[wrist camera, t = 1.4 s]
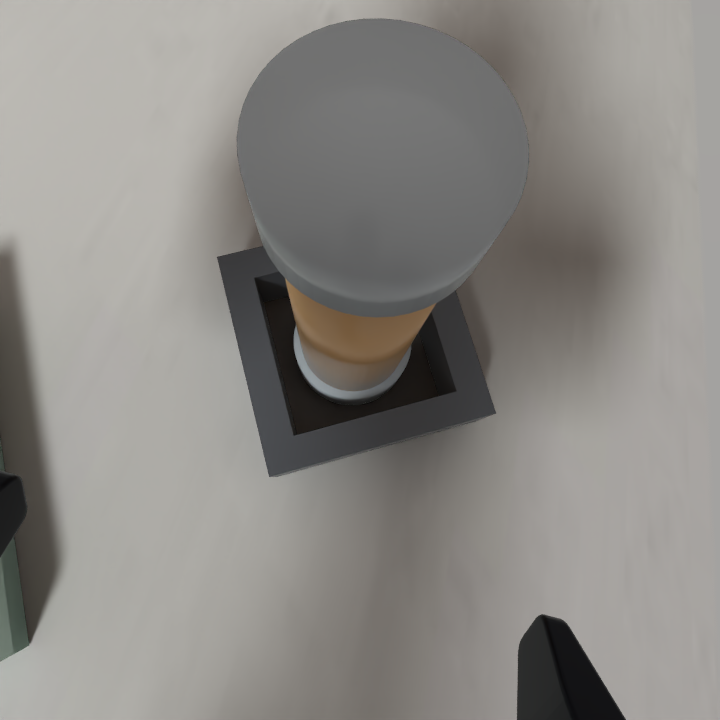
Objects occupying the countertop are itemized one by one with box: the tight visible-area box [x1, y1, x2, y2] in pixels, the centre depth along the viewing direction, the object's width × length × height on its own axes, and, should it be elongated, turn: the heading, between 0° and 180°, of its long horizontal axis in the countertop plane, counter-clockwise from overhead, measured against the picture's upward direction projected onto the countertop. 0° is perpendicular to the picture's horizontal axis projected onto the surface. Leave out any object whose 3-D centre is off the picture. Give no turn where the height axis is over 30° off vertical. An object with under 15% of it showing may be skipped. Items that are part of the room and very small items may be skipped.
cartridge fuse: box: [237, 19, 529, 405], centre depth 16 cm, size 5×5×15 cm
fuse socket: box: [217, 246, 496, 477], centre depth 22 cm, size 9×9×3 cm
